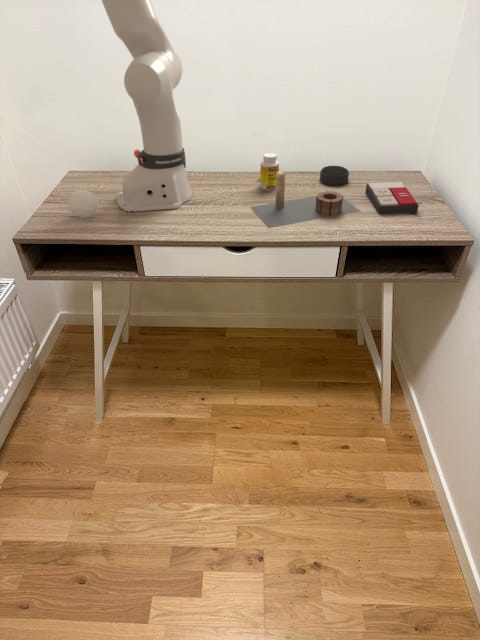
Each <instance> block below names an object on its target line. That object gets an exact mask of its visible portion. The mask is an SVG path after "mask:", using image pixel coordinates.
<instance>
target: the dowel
mask: <svg viewBox="0 0 480 640" xmlns="http://www.w3.org/2000/svg"><path fill="white" fill-rule="evenodd" d="M285 186H286V171H282V170H279V171H278V172H277V175H276V189H275V203H276V206H275V207H276V208H278V209H281V208H284V201H285V190H286V187H285Z"/></svg>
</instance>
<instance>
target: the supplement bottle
mask: <svg viewBox="0 0 480 640" xmlns="http://www.w3.org/2000/svg"><path fill="white" fill-rule="evenodd" d="M277 159H278V157H277V154H276V153H274V152H273V153H272V152H268V153H264V154H263V158H262V160H261V162H260V168H261V173H260V177H259V178H260V182H259V183H260V184H259V186H260V188H261V190H265V191H272V190H276V175H277V172H278V171H280V162H279V161H278V160H277Z"/></svg>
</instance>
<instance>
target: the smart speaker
mask: <svg viewBox="0 0 480 640" xmlns="http://www.w3.org/2000/svg"><path fill="white" fill-rule="evenodd" d="M349 175H350V172H349V170H348V168H346V167H344V166H341V165H340V166H339V165H328V166H327V165H326V166H324V167H323V168H321V169H320V172H319V181H320V182H321V183H323V184H324V185H326V186H333V187H334V186H335V187H336V186H343V185H346V184H347V183H348V181H349Z"/></svg>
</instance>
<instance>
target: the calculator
mask: <svg viewBox="0 0 480 640" xmlns="http://www.w3.org/2000/svg"><path fill="white" fill-rule="evenodd" d="M365 195H366V197H367V198H368V200H369V201H370V203H371V204H372V206H373V208H374V210H375V211H376V213H377V214H379V215H387V214H390V215H391V214H392V215H393V214H410V215H417V214H418V210H419V203H418V202H417V201H416V199H415V198H414V196H413V194H411V192H410V190H409V189H408V188H407V187H406V185H405V183H403V181H393V182H389V181H388V182H369V183H367V184H366V185H365Z"/></svg>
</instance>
